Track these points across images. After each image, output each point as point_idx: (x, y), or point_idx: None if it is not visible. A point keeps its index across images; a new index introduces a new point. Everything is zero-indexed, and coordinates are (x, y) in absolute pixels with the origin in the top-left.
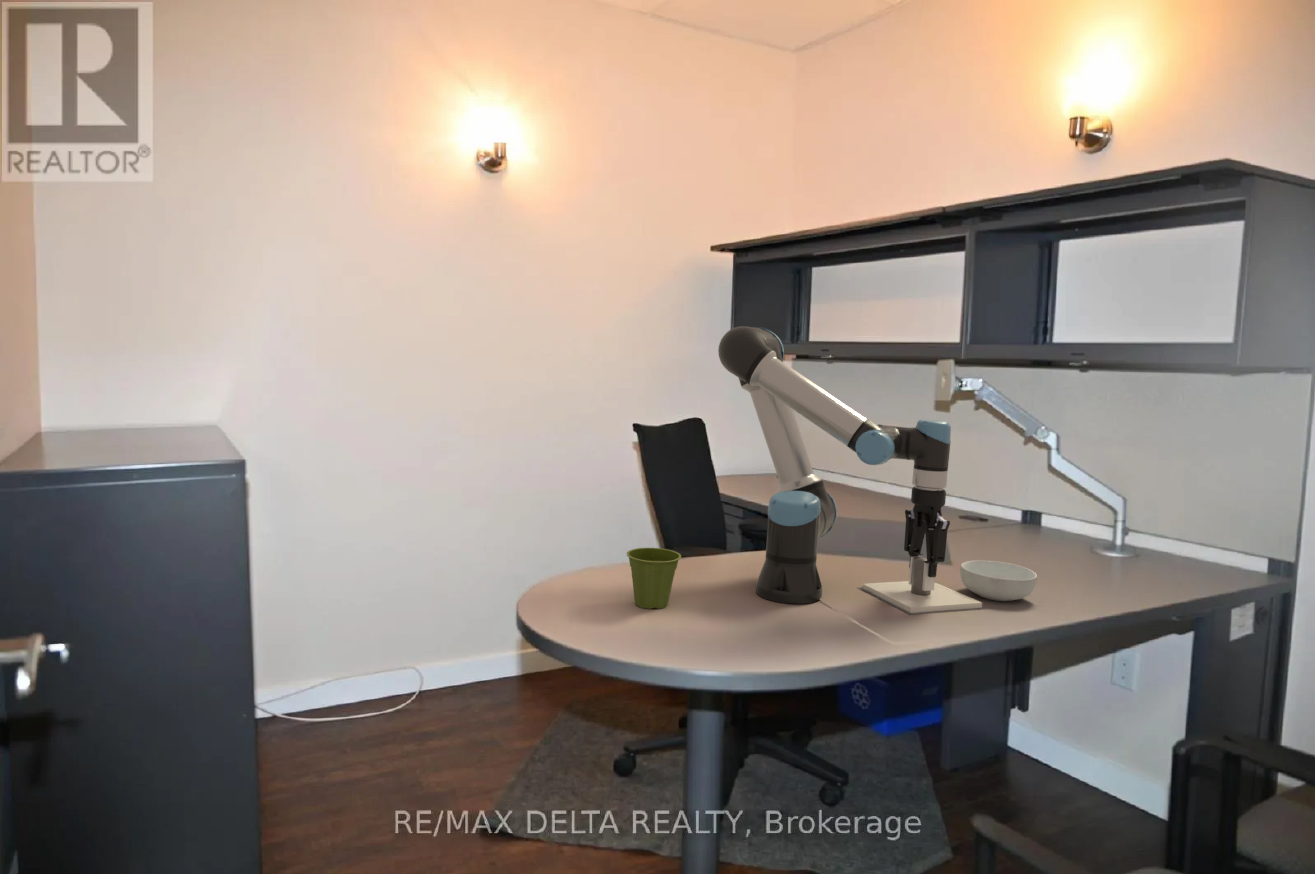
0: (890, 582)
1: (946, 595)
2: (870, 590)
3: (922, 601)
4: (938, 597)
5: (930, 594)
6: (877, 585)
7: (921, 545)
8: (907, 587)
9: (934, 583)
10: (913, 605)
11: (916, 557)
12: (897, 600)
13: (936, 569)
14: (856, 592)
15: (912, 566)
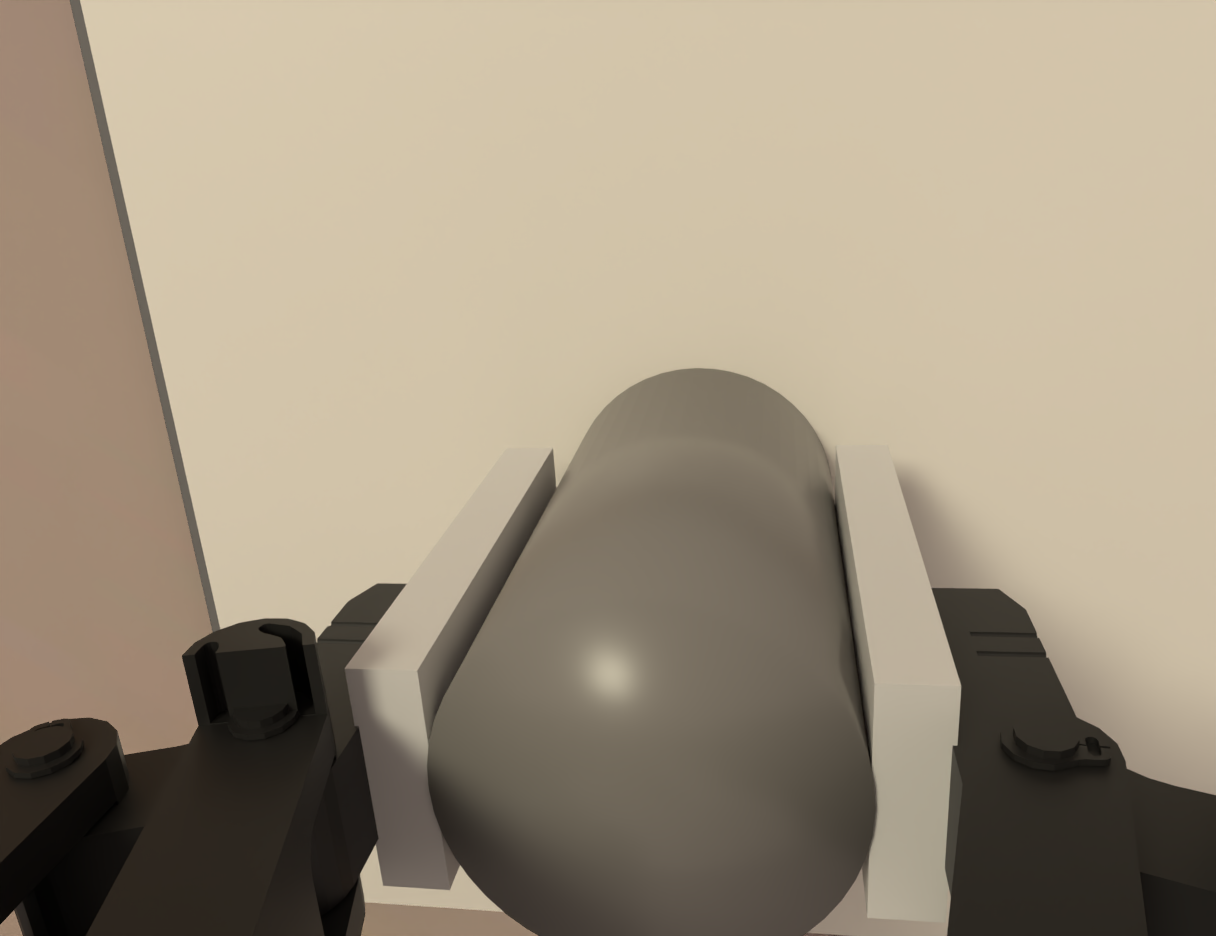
0: (226, 585)
1: (890, 188)
2: None
3: None
4: (952, 383)
5: (793, 405)
6: None
7: (273, 902)
8: (446, 511)
9: (896, 481)
10: None
11: (480, 841)
12: (925, 929)
13: (1058, 680)
14: (368, 917)
15: None
